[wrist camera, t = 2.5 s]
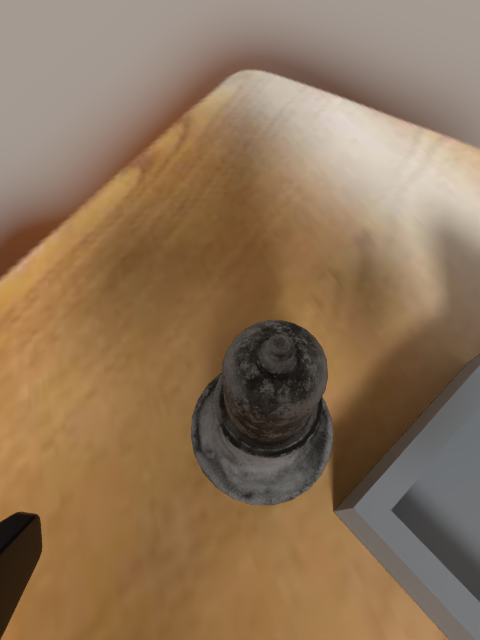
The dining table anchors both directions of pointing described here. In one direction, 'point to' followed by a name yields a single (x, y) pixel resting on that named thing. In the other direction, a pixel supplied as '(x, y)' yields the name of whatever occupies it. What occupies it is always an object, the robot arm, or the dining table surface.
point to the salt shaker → (265, 416)
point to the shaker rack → (430, 508)
